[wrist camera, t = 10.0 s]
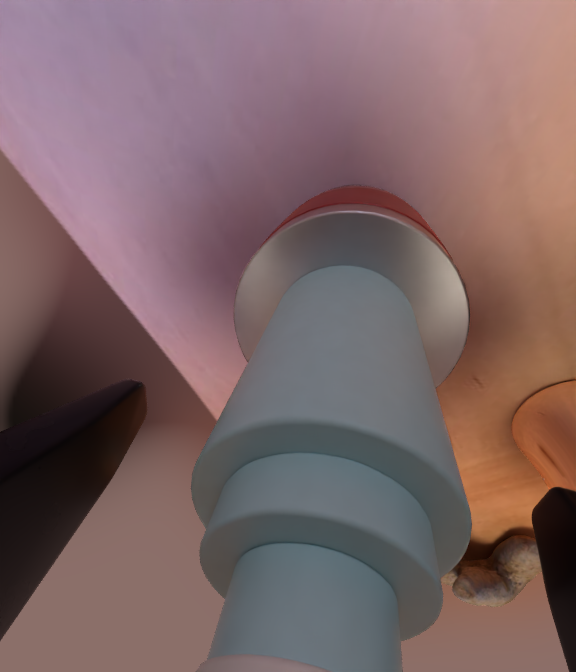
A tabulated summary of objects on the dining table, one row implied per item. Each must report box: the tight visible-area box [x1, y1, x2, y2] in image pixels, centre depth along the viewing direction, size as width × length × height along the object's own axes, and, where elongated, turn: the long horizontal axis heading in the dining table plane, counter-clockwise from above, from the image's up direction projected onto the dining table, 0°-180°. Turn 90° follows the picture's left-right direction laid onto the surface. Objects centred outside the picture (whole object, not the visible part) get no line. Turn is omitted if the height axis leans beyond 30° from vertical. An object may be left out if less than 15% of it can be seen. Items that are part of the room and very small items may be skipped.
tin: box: [234, 185, 470, 389], centre depth 15 cm, size 8×8×6 cm
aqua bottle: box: [191, 265, 472, 672], centre depth 8 cm, size 5×5×10 cm
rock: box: [440, 535, 542, 607], centre depth 25 cm, size 20×5×7 cm
